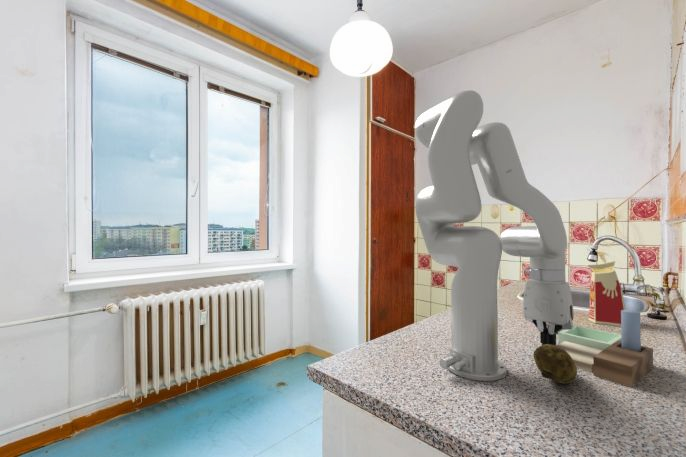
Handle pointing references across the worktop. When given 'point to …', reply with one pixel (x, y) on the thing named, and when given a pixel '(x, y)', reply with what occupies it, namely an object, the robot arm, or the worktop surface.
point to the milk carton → (605, 295)
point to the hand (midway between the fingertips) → (548, 347)
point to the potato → (555, 363)
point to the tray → (588, 337)
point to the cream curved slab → (580, 355)
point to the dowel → (630, 330)
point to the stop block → (623, 364)
